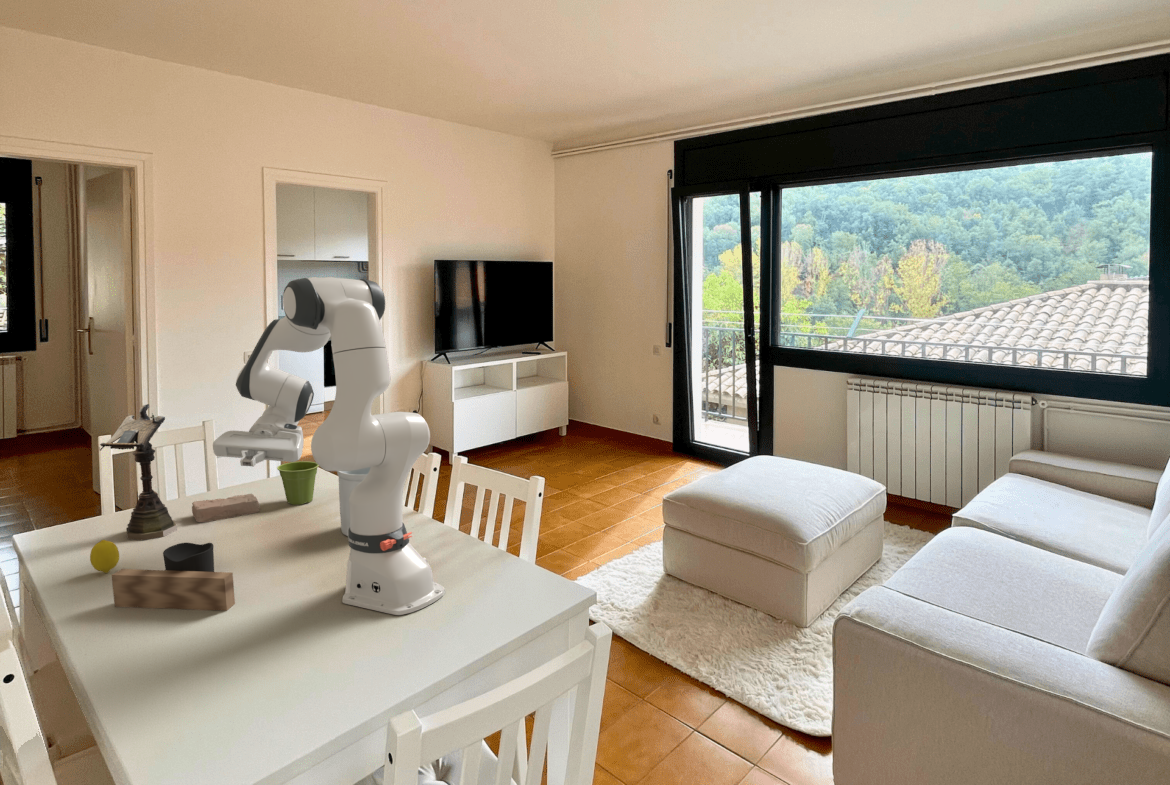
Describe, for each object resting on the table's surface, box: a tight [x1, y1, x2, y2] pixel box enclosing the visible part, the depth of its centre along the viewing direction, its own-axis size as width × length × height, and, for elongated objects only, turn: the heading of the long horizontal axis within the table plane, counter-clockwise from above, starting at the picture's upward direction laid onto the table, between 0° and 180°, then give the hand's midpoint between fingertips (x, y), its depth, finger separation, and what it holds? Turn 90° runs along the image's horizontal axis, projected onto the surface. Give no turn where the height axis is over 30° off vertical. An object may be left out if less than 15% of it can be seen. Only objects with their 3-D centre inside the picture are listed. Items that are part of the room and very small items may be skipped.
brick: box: [191, 493, 260, 523], centre depth 201 cm, size 16×8×5 cm, turn 128°
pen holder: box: [162, 542, 215, 572], centre depth 151 cm, size 9×9×10 cm
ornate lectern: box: [99, 403, 178, 541], centre depth 181 cm, size 17×13×35 cm
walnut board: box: [111, 568, 236, 611], centre depth 145 cm, size 24×3×7 cm, turn 87°
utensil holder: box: [336, 467, 371, 537], centre depth 189 cm, size 15×15×18 cm
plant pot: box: [276, 460, 320, 506], centre depth 212 cm, size 12×12×11 cm
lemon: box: [89, 539, 120, 574], centre depth 160 cm, size 6×6×8 cm
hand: (246, 463), depth 165 cm, fingers closed
